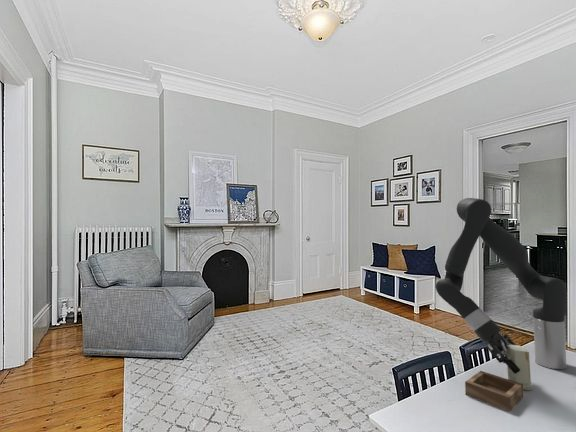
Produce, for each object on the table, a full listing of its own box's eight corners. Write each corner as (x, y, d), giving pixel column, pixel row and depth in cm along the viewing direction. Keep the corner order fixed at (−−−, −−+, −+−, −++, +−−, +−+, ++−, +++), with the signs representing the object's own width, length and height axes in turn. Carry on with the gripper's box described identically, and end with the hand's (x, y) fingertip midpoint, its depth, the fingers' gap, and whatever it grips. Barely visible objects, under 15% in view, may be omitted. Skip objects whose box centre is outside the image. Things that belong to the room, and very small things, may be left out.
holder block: (481, 382, 107) (480, 370, 107) (523, 397, 97) (522, 384, 97) (465, 394, 99) (465, 381, 100) (509, 411, 90) (509, 397, 90)
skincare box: (531, 390, 100) (530, 352, 101) (516, 389, 101) (515, 351, 102) (521, 380, 107) (519, 344, 107) (507, 379, 108) (505, 343, 108)
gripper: (481, 323, 107) (524, 369, 97) (497, 315, 115) (538, 357, 106) (465, 334, 111) (505, 380, 101) (482, 326, 119) (520, 367, 110)
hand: (521, 368), depth 103 cm, fingers closed on skincare box, 7 cm apart
